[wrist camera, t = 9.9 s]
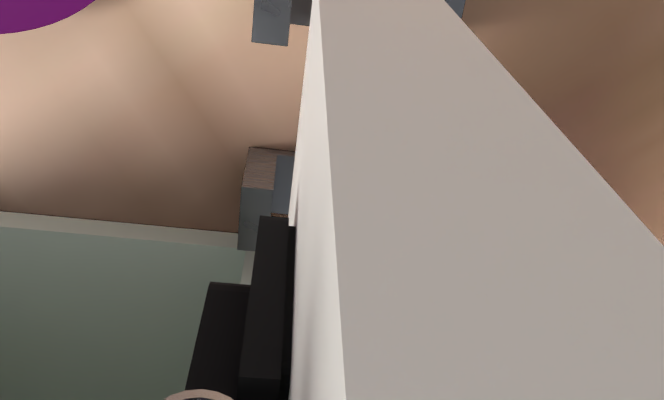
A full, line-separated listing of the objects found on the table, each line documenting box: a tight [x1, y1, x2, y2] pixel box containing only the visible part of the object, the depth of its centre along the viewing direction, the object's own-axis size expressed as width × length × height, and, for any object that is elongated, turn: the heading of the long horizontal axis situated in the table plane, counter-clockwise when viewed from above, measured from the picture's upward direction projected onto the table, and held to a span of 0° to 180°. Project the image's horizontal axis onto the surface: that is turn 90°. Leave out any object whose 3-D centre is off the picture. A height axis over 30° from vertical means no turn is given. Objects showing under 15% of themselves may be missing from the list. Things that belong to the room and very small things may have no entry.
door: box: [288, 0, 664, 400], centre depth 10 cm, size 10×3×14 cm, turn 173°
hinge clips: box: [237, 0, 465, 251], centre depth 19 cm, size 9×5×4 cm, turn 172°
